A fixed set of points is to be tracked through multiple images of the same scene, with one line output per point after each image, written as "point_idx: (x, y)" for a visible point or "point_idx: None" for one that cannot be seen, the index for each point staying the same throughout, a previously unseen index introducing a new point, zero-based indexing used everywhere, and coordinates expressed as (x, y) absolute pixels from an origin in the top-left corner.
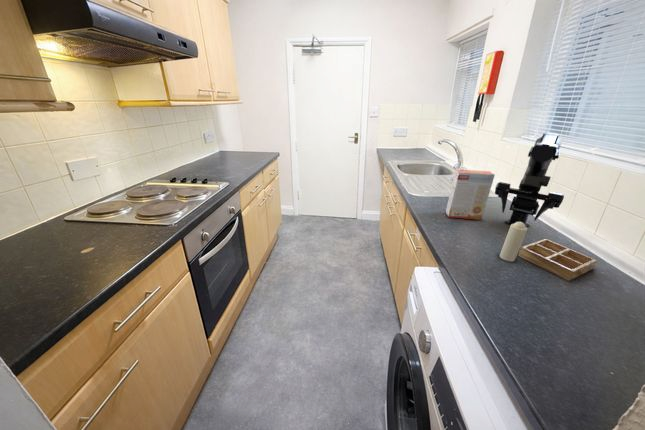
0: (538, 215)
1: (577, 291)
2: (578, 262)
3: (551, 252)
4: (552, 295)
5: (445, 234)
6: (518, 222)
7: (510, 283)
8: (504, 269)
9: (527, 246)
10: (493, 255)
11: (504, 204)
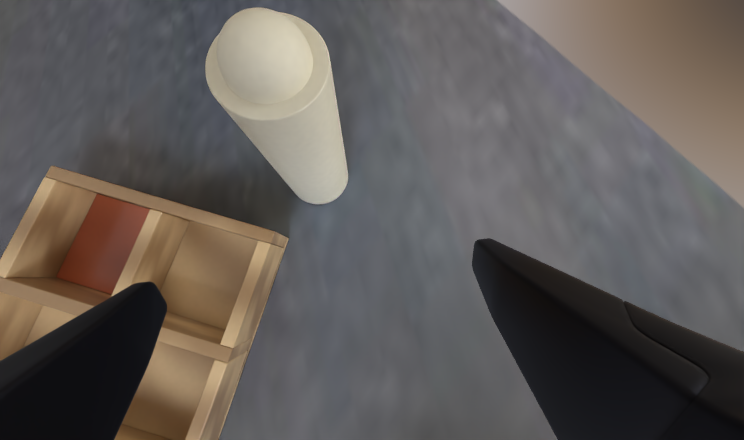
0: (76, 321)
1: (75, 130)
2: (18, 288)
3: None
4: (148, 43)
5: (593, 175)
6: (269, 18)
7: None
8: None
9: (250, 267)
10: (366, 153)
11: (555, 284)
